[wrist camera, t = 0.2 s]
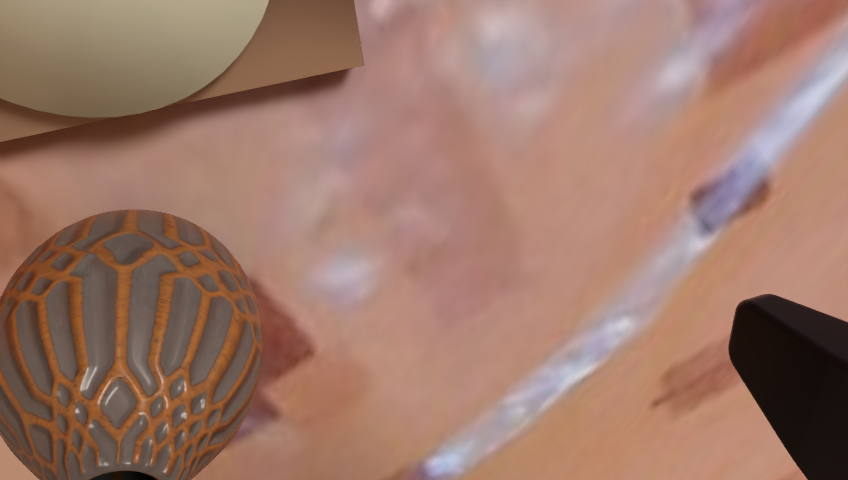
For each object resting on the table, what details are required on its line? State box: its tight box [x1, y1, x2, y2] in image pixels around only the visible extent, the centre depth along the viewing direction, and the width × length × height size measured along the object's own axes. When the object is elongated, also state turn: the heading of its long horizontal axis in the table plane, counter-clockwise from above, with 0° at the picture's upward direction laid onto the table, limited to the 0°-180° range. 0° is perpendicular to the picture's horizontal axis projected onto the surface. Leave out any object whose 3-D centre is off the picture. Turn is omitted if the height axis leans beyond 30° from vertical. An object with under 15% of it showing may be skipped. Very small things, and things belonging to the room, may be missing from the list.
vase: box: [0, 210, 263, 480], centre depth 18 cm, size 7×7×9 cm
